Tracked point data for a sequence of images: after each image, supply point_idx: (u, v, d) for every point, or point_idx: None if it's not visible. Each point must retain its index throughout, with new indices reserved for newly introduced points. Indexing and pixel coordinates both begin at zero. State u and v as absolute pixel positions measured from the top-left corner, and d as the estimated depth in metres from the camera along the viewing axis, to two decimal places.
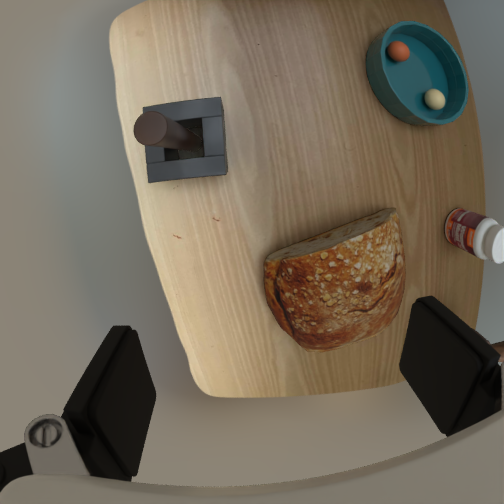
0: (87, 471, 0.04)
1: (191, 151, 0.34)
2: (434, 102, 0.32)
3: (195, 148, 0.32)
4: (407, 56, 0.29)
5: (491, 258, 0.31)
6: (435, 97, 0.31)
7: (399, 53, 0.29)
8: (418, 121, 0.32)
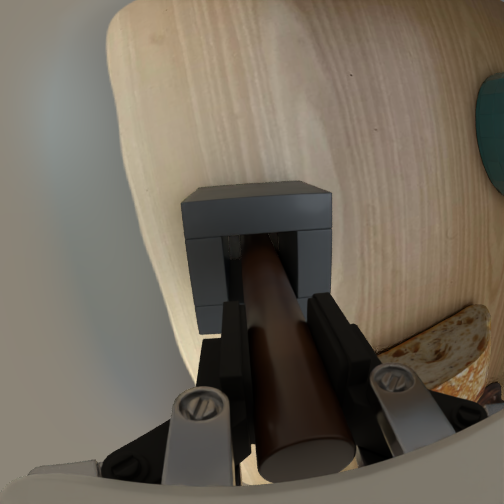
0: (231, 458, 0.04)
1: None
2: None
3: None
4: None
5: None
6: None
7: None
8: None
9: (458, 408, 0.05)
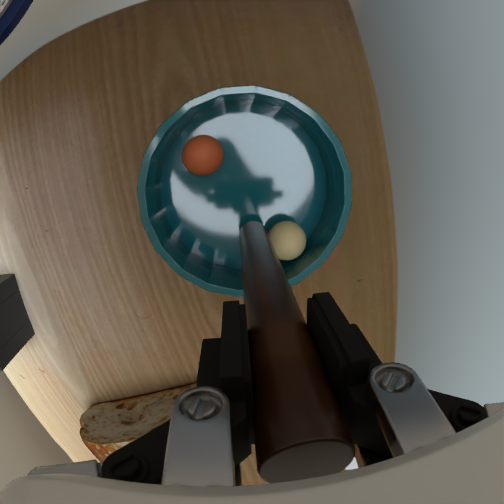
0: (231, 458, 0.04)
1: None
2: (281, 258, 0.24)
3: None
4: (212, 166, 0.21)
5: None
6: (284, 254, 0.23)
7: (191, 166, 0.21)
8: None
9: (458, 408, 0.05)
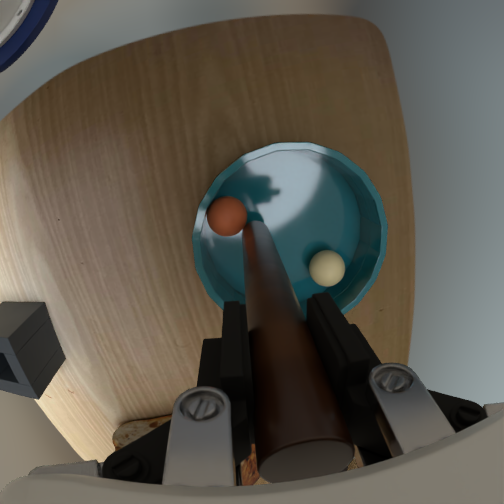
0: (231, 458, 0.04)
1: None
2: (321, 278, 0.25)
3: None
4: (214, 228, 0.23)
5: None
6: (325, 271, 0.24)
7: None
8: None
9: (458, 408, 0.05)
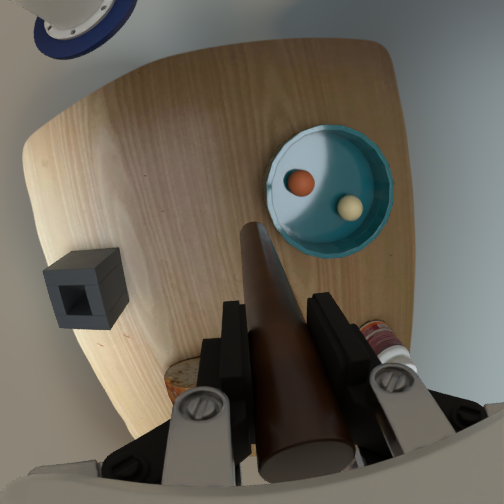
0: (231, 458, 0.04)
1: None
2: (344, 207, 0.34)
3: None
4: (299, 188, 0.33)
5: None
6: (346, 201, 0.34)
7: (289, 181, 0.34)
8: None
9: (458, 408, 0.05)
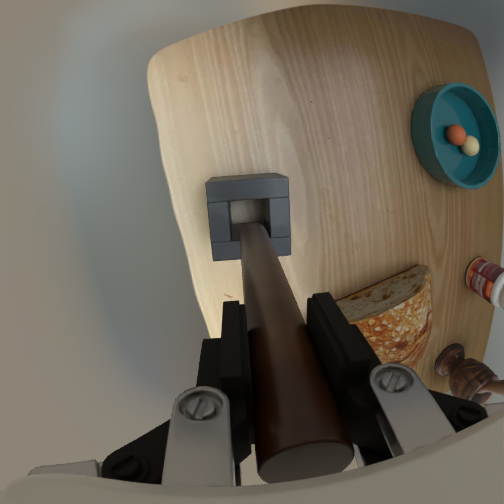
0: (231, 458, 0.04)
1: None
2: (465, 140, 0.33)
3: None
4: None
5: None
6: None
7: (465, 138, 0.32)
8: (455, 185, 0.34)
9: (458, 408, 0.05)
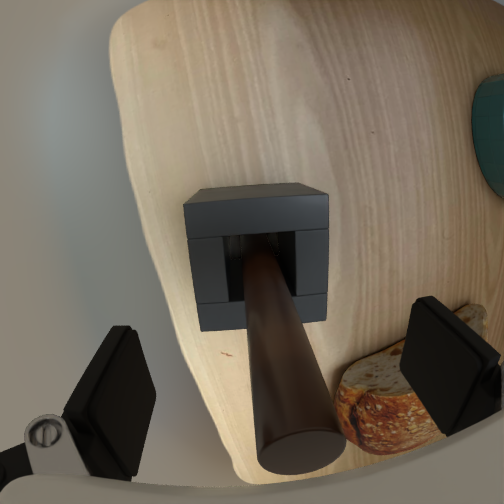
0: (87, 471, 0.04)
1: None
2: None
3: None
4: None
5: None
6: None
7: None
8: None
9: None
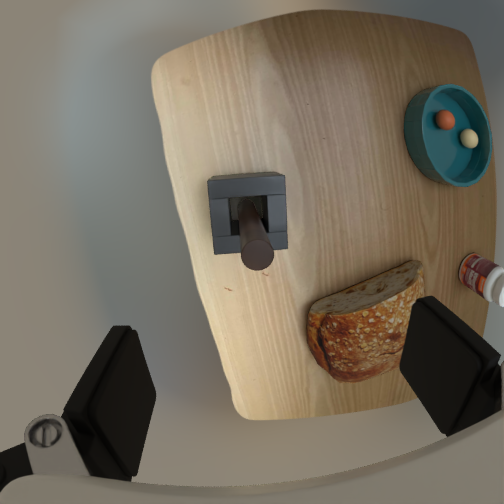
0: (87, 471, 0.04)
1: None
2: (470, 130, 0.34)
3: None
4: (454, 120, 0.33)
5: (498, 303, 0.35)
6: (465, 129, 0.34)
7: (450, 112, 0.33)
8: (447, 183, 0.36)
9: None
